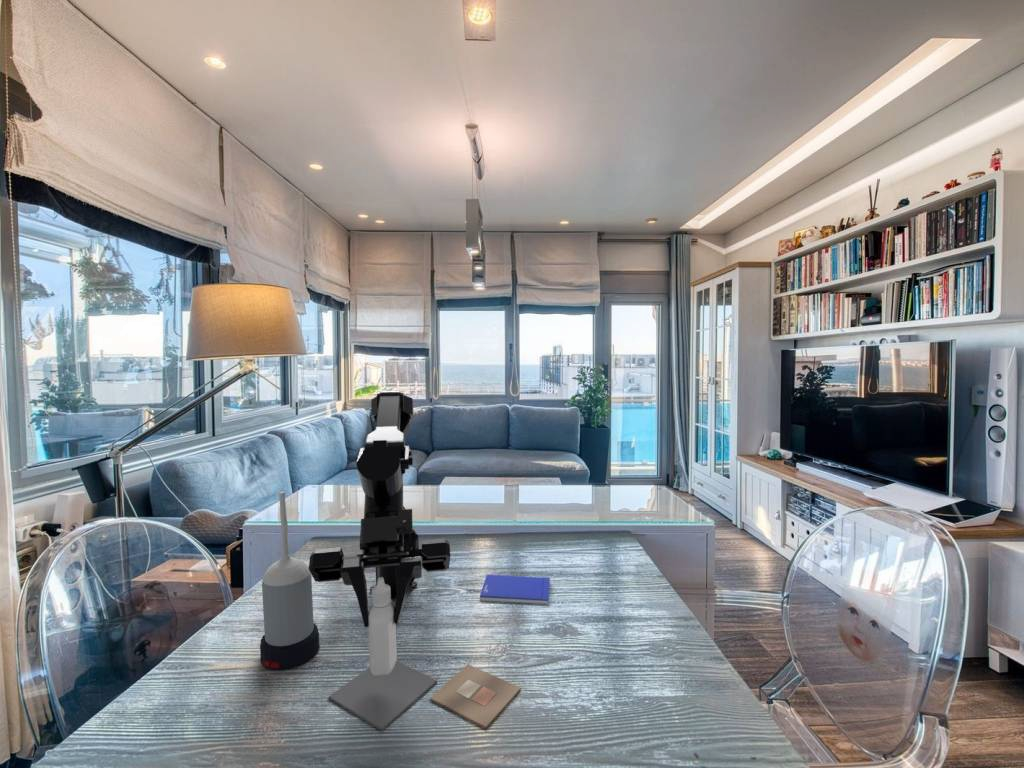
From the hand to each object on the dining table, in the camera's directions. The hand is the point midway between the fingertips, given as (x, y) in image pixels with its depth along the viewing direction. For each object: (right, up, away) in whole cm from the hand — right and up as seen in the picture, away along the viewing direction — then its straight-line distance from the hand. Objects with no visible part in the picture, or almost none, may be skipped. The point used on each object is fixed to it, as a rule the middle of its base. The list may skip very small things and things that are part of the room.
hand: (381, 625), depth 65 cm
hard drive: (+18, -8, +28) cm, 34 cm away
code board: (+12, -10, +1) cm, 16 cm away
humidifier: (-16, -9, +10) cm, 21 cm away
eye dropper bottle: (0, -6, +2) cm, 7 cm away
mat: (0, -10, +2) cm, 10 cm away
